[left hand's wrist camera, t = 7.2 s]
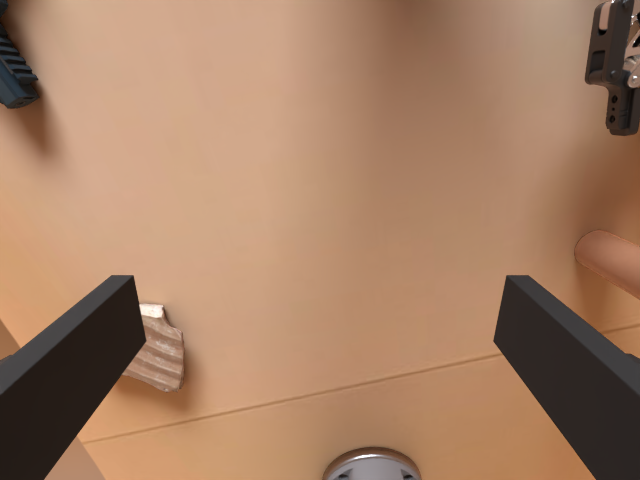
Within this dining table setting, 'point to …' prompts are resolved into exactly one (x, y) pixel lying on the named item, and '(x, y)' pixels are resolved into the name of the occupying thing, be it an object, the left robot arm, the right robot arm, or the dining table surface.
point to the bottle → (611, 259)
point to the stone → (159, 352)
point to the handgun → (14, 72)
